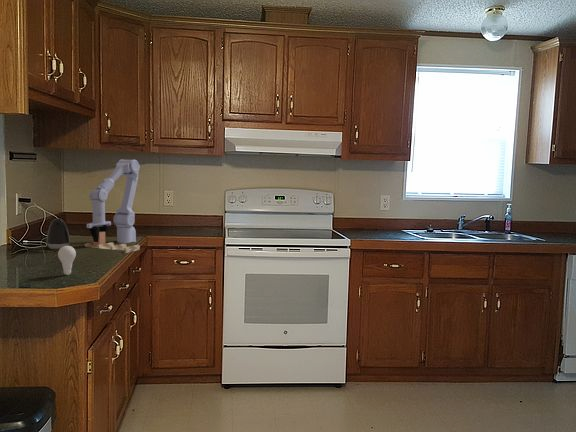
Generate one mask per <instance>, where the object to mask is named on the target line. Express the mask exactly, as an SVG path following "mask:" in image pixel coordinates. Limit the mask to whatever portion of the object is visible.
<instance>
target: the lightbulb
mask: <svg viewBox="0 0 576 432" xmlns="http://www.w3.org/2000/svg"><path fill="white" fill-rule="evenodd" d="M76 256H77V252H76V249H75V248H74V247H73V246H71V245H69V246H64V247H62V248H60V249H58V253H57V257H58V259H59V261H60V263H61V264H62V269H63V274H64V275H65V276H69V275H71V273H72V268H73V263H74V261H75V258H76Z"/></svg>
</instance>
